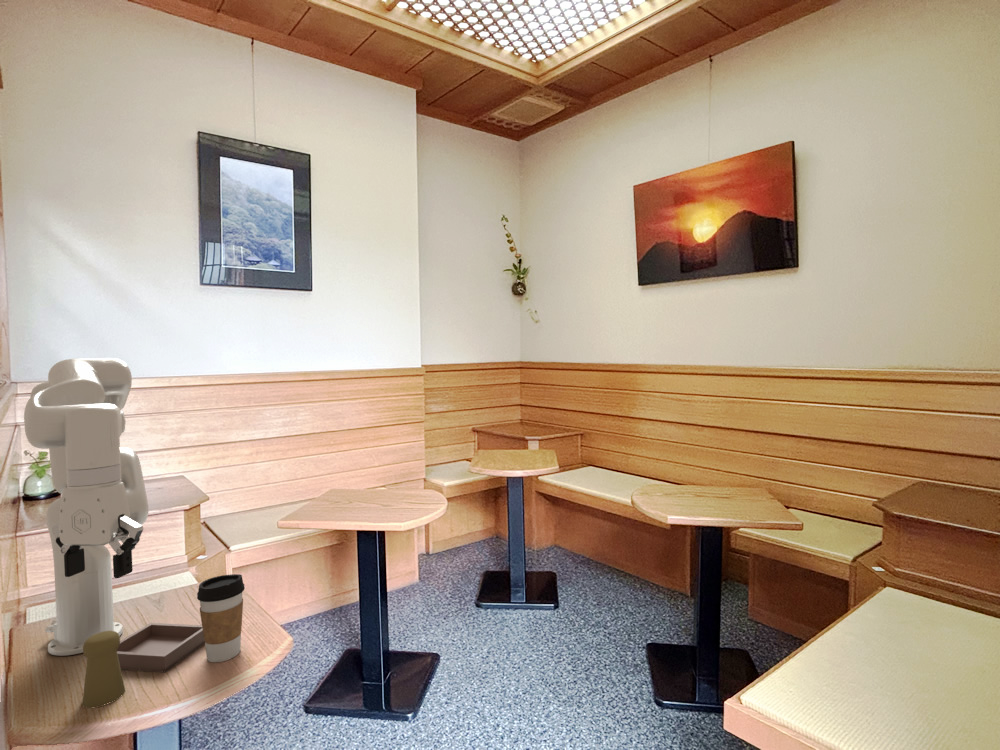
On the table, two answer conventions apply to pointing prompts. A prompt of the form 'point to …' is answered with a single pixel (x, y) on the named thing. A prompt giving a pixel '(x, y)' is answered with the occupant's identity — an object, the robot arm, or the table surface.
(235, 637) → the coffee cup
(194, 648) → the lacquer tray
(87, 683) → the tan tall rounded piece
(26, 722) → the table surface
